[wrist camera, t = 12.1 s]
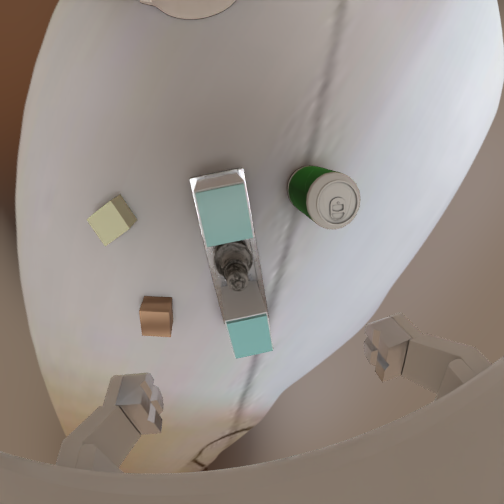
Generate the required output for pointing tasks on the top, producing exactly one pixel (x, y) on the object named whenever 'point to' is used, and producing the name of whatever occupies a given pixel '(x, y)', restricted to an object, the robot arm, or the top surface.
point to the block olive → (112, 220)
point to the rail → (250, 243)
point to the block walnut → (156, 316)
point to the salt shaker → (233, 264)
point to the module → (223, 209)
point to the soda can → (324, 196)
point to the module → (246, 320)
